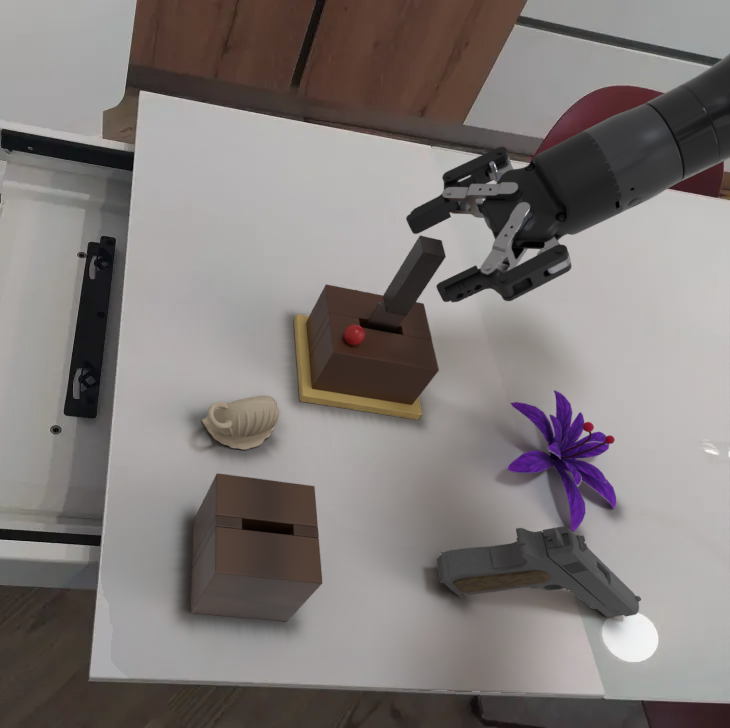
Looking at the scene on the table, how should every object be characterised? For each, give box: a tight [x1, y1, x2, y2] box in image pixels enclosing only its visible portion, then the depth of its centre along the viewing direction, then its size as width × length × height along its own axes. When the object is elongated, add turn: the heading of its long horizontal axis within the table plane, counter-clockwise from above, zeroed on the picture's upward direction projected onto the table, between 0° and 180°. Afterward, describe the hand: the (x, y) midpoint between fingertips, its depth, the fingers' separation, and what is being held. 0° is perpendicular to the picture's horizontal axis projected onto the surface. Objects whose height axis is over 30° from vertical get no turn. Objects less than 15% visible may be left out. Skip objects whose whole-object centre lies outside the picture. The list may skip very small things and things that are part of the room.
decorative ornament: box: [201, 395, 280, 451], centre depth 67 cm, size 4×8×5 cm, turn 111°
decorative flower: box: [506, 390, 617, 533], centre depth 74 cm, size 14×15×7 cm
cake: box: [293, 283, 440, 421], centre depth 75 cm, size 13×11×9 cm
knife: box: [363, 235, 447, 333], centre depth 71 cm, size 3×2×17 cm
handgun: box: [436, 525, 642, 618], centre depth 65 cm, size 3×18×12 cm
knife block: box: [190, 473, 323, 622], centre depth 58 cm, size 8×8×8 cm
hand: (424, 259), depth 66 cm, fingers open, 8 cm apart
